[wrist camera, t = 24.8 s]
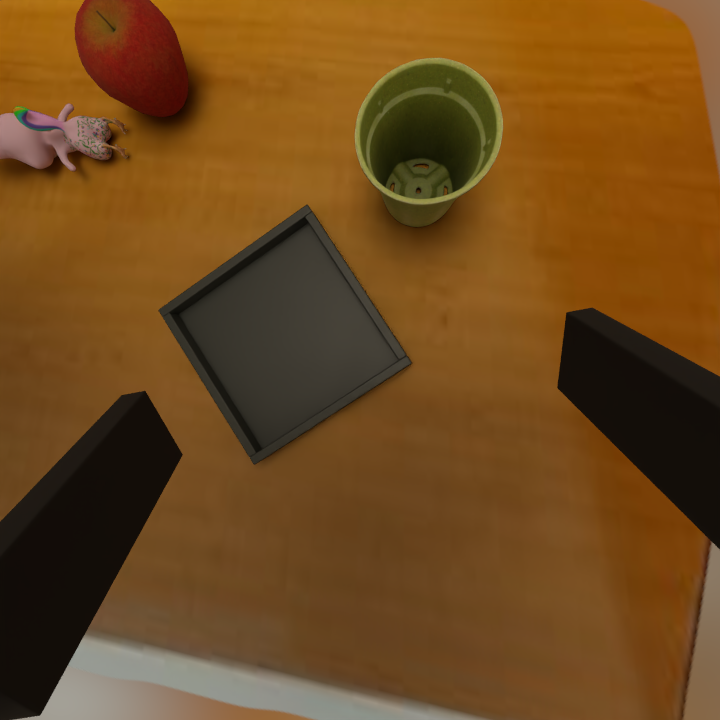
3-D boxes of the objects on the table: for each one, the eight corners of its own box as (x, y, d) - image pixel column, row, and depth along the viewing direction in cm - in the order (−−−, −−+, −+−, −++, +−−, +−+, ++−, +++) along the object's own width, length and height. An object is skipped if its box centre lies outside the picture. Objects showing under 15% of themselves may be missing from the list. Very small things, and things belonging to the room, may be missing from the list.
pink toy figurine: (135, 121, 35) (-24, 119, 34) (94, 71, 29) (-101, 68, 28) (138, 183, 35) (-22, 183, 34) (97, 146, 29) (-98, 145, 28)
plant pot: (467, 249, 30) (496, 206, 22) (361, 244, 31) (348, 200, 23) (476, 143, 30) (509, 57, 22) (370, 140, 31) (361, 57, 23)
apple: (124, 131, 34) (43, 62, 26) (134, 49, 33) (56, -44, 26) (199, 137, 33) (139, 68, 25) (210, 54, 33) (153, -41, 25)
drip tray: (169, 312, 33) (157, 309, 31) (311, 211, 32) (307, 203, 30) (261, 459, 32) (253, 465, 31) (411, 362, 31) (412, 363, 29)
